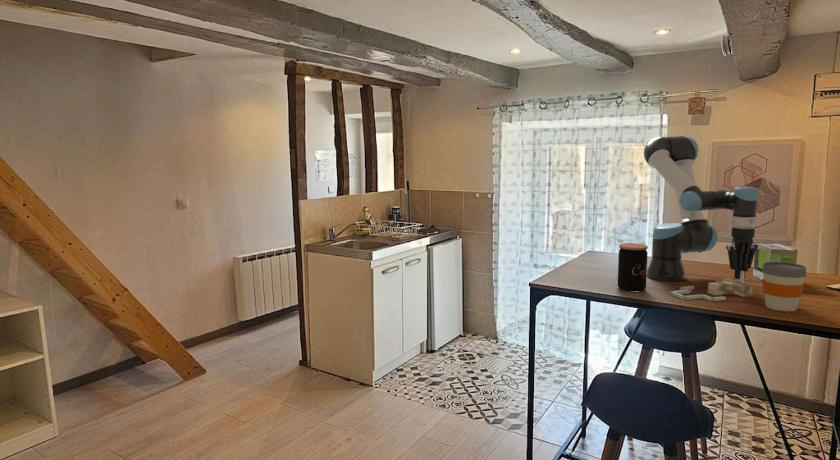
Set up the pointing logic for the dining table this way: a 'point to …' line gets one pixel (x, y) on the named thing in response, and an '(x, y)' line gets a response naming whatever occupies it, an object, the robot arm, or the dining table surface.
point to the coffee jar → (632, 267)
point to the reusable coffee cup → (783, 285)
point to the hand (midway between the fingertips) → (739, 286)
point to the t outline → (689, 290)
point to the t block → (729, 287)
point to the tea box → (772, 256)
